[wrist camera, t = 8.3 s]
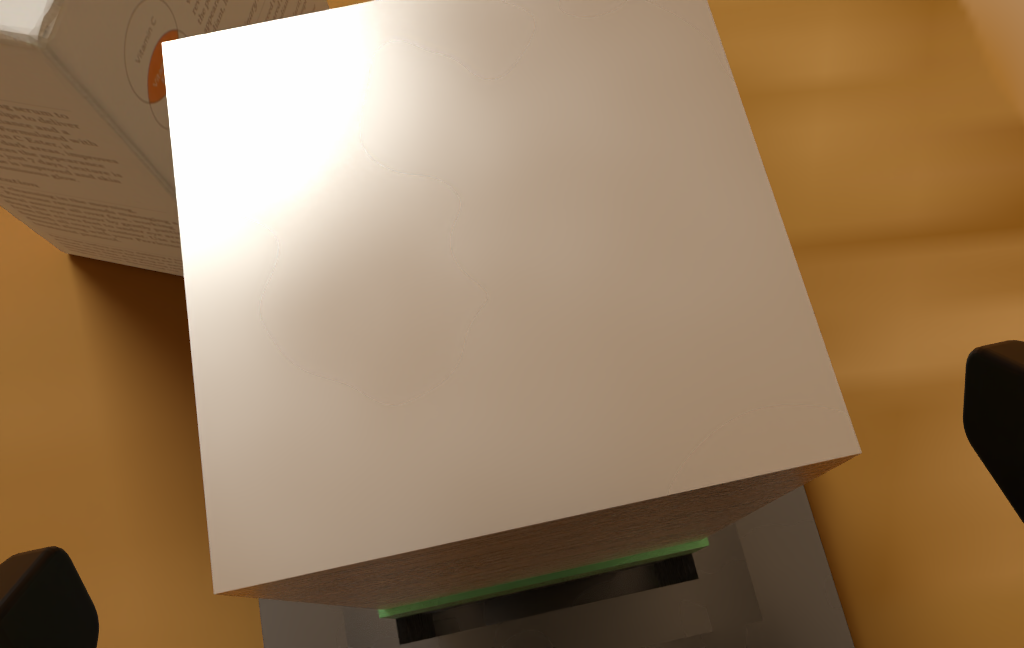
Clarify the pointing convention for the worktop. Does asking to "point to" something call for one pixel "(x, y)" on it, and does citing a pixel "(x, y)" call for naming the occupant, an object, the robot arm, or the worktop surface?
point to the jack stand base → (625, 602)
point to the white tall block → (483, 299)
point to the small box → (102, 119)
